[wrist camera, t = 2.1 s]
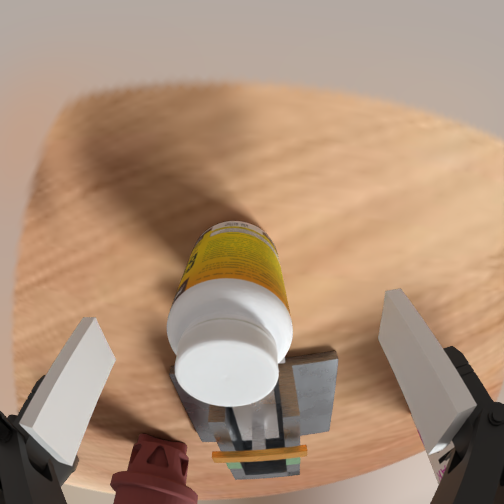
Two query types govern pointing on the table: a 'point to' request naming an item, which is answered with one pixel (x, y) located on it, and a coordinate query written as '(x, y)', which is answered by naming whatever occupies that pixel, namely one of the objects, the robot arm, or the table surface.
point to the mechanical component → (154, 474)
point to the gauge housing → (288, 412)
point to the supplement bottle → (230, 317)
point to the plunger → (259, 433)
